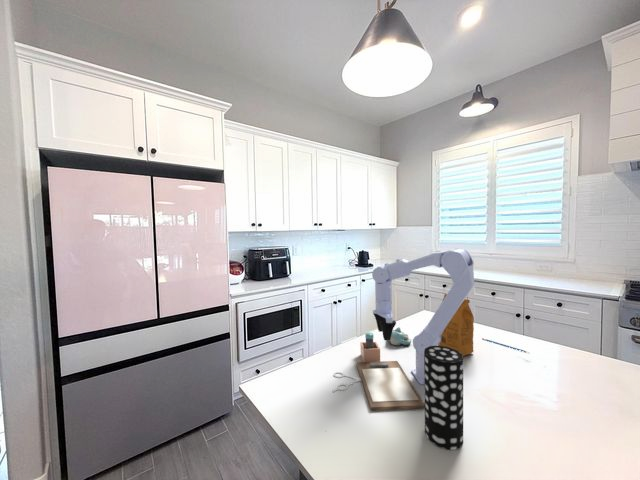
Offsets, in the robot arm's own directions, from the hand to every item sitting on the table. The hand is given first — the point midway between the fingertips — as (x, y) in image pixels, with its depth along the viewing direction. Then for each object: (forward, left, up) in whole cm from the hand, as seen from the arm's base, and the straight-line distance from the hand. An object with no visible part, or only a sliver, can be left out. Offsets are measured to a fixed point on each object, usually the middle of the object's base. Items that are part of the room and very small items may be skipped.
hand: (384, 335), depth 96 cm
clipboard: (+3, +13, -10) cm, 17 cm away
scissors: (+11, +10, -11) cm, 19 cm away
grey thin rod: (-52, -10, -11) cm, 54 cm away
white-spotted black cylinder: (-5, +34, -10) cm, 36 cm away
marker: (+5, -4, -10) cm, 11 cm away
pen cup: (+5, -4, -10) cm, 12 cm away
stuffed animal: (-11, -17, -11) cm, 23 cm away
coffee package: (-30, -8, -10) cm, 33 cm away
